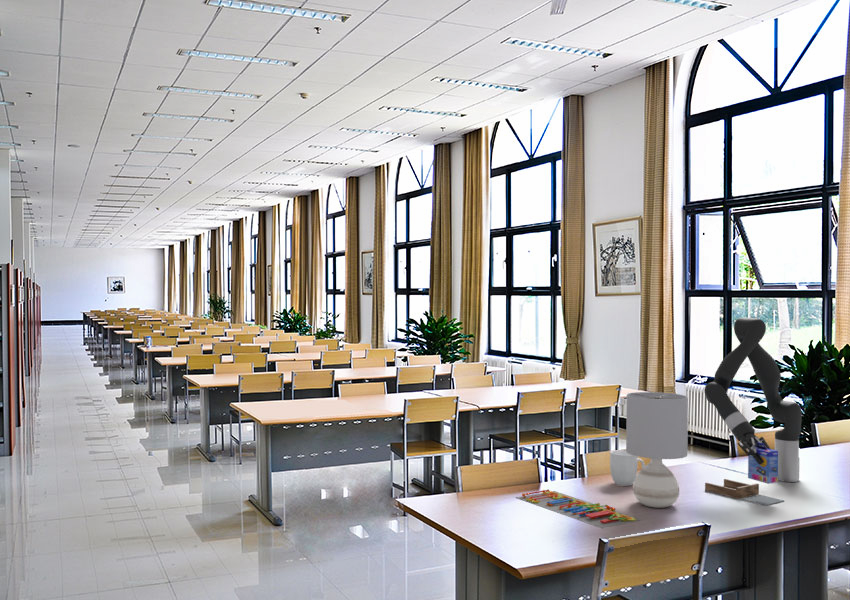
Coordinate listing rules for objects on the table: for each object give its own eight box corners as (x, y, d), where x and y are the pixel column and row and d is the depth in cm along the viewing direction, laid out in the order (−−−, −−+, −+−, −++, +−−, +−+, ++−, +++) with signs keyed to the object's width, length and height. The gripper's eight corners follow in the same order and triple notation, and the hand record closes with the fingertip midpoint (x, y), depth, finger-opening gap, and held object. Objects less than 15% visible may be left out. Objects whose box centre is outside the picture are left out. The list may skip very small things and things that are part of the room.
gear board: (642, 514, 263) (602, 522, 253) (642, 521, 263) (602, 530, 253) (554, 486, 301) (515, 492, 291) (554, 492, 301) (515, 499, 291)
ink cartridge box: (746, 478, 293) (747, 440, 293) (757, 477, 296) (758, 439, 296) (768, 484, 284) (768, 445, 284) (778, 483, 287) (779, 444, 287)
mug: (637, 480, 321) (638, 449, 321) (651, 486, 310) (651, 454, 310) (605, 481, 318) (605, 450, 318) (617, 488, 307) (617, 455, 307)
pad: (760, 495, 297) (760, 494, 297) (784, 501, 289) (784, 500, 289) (741, 499, 291) (741, 498, 291) (765, 505, 282) (765, 504, 282)
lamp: (644, 494, 298) (645, 390, 298) (697, 505, 282) (698, 396, 282) (614, 504, 282) (615, 395, 282) (668, 516, 267) (669, 401, 267)
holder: (725, 486, 312) (725, 476, 312) (758, 494, 299) (758, 484, 299) (705, 490, 305) (705, 480, 305) (738, 498, 292) (738, 488, 292)
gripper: (734, 421, 292) (762, 458, 282) (756, 419, 300) (784, 454, 290) (721, 433, 297) (749, 470, 287) (744, 430, 305) (771, 466, 295)
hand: (766, 462), depth 289 cm, fingers closed on ink cartridge box, 6 cm apart
